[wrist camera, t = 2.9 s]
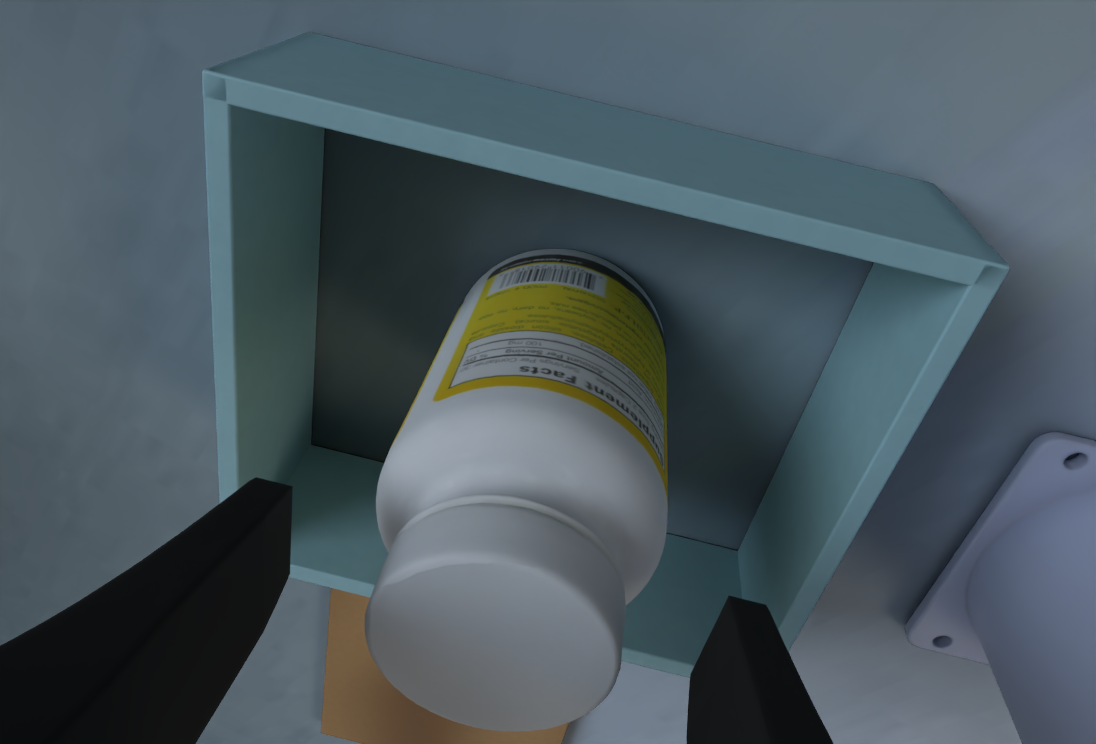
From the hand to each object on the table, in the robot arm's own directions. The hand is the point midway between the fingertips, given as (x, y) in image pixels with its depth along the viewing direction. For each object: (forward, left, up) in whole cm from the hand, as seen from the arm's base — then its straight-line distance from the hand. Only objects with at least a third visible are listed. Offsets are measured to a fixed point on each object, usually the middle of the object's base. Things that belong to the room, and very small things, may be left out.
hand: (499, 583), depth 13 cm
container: (0, 0, -9) cm, 9 cm away
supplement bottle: (0, 0, -9) cm, 9 cm away
